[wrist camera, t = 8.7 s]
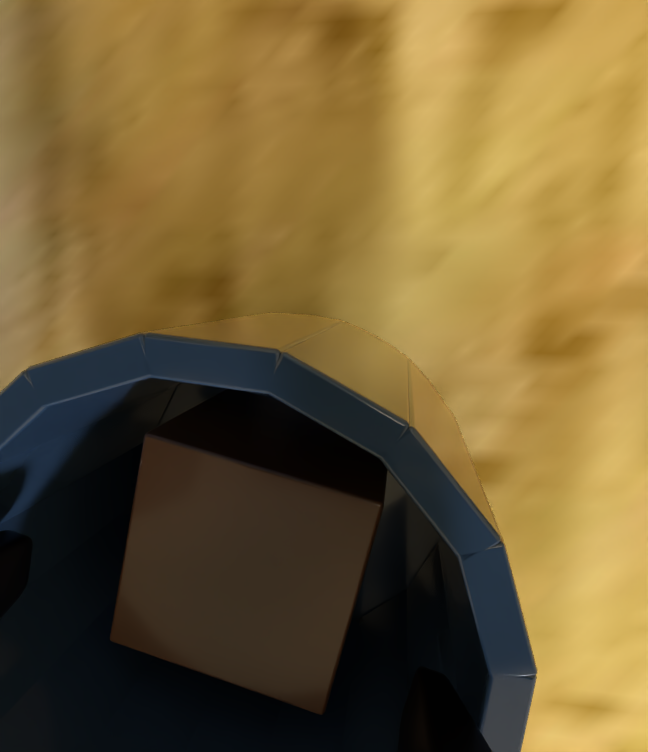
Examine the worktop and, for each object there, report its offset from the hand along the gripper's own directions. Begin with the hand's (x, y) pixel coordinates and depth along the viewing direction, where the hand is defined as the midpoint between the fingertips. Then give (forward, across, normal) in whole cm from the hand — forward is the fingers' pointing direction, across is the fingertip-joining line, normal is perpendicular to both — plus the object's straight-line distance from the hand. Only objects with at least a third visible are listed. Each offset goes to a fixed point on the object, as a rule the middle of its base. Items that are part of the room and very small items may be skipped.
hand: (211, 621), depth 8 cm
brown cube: (+6, 0, 0) cm, 6 cm away
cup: (+6, 0, 0) cm, 6 cm away
